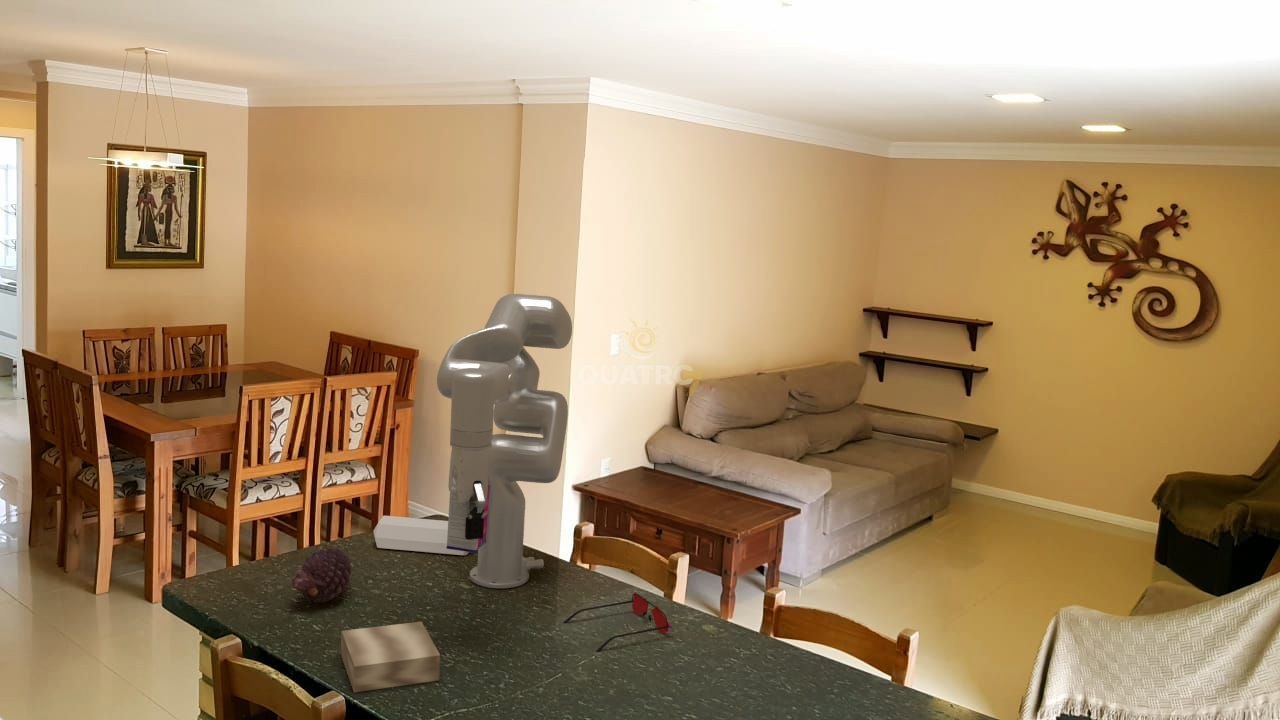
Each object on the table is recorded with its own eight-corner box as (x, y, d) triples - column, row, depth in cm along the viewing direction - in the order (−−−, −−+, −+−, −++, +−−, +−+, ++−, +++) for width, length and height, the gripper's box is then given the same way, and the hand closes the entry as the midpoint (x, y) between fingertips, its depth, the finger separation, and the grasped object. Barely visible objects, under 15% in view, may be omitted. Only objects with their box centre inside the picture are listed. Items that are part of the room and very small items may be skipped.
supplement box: (476, 553, 179) (479, 492, 177) (445, 549, 180) (447, 488, 178) (487, 542, 185) (490, 483, 183) (457, 538, 186) (460, 479, 184)
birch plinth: (420, 645, 180) (421, 621, 180) (439, 680, 168) (440, 655, 167) (340, 655, 174) (341, 630, 174) (354, 692, 162) (354, 666, 161)
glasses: (672, 639, 191) (673, 614, 190) (596, 654, 183) (598, 628, 182) (634, 611, 203) (636, 588, 202) (562, 624, 194) (563, 600, 193)
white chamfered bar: (481, 529, 234) (381, 520, 235) (476, 522, 227) (373, 513, 228) (477, 561, 231) (375, 552, 232) (471, 555, 224) (367, 546, 225)
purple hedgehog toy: (325, 578, 207) (326, 532, 206) (369, 585, 206) (370, 538, 204) (279, 611, 190) (279, 561, 189) (327, 618, 189) (328, 568, 187)
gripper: (439, 426, 185) (436, 516, 188) (463, 451, 169) (459, 549, 173) (478, 424, 188) (474, 513, 191) (505, 449, 173) (501, 545, 176)
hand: (467, 529), depth 182 cm, fingers closed on supplement box, 7 cm apart
